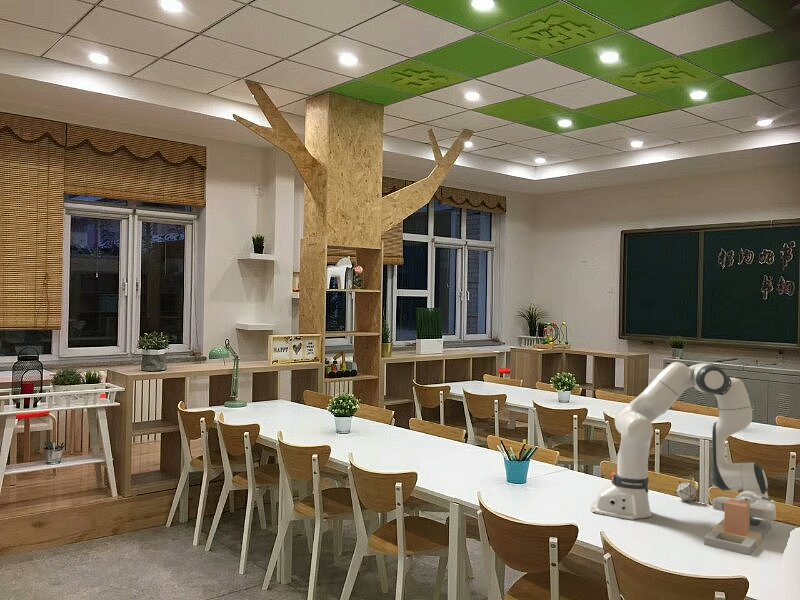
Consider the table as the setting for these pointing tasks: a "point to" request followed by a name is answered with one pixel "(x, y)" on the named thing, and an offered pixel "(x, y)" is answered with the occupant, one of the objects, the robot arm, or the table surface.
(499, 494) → the table surface
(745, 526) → the block
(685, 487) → the grey faceted ball
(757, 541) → the box
